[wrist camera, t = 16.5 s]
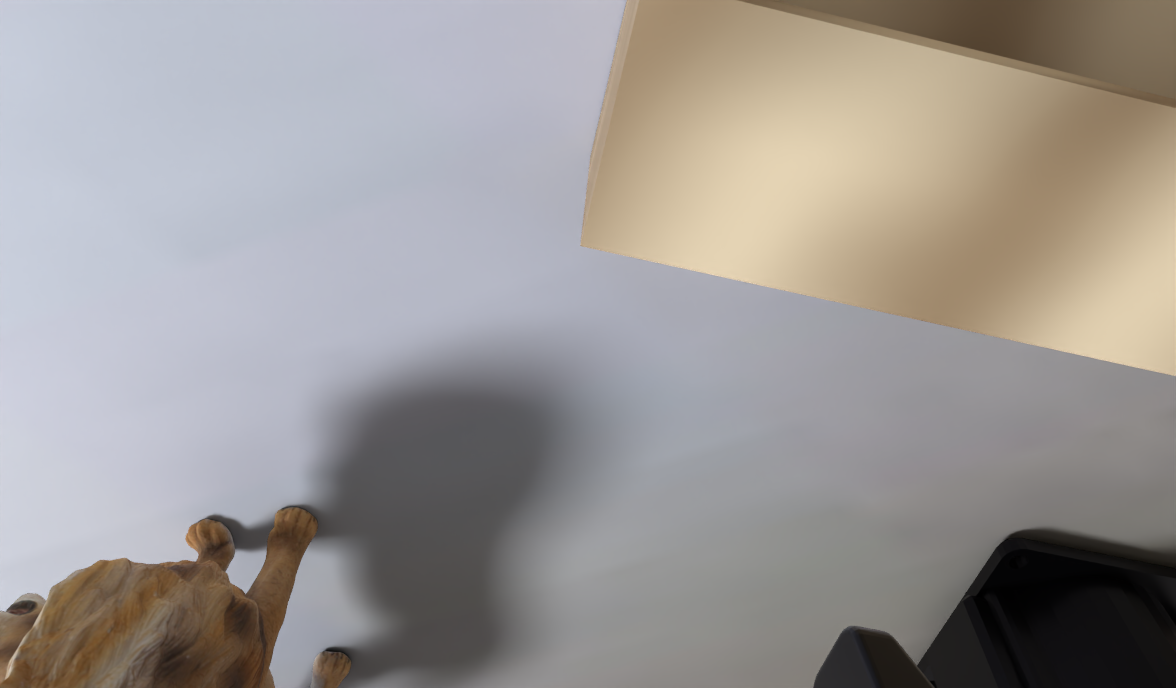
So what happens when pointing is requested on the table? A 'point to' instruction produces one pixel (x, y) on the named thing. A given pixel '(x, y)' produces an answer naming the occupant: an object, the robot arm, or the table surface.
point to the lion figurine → (163, 620)
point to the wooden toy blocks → (907, 160)
